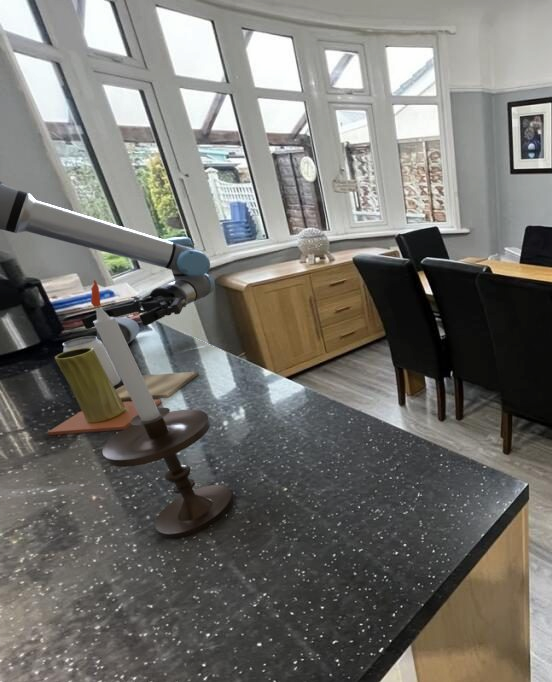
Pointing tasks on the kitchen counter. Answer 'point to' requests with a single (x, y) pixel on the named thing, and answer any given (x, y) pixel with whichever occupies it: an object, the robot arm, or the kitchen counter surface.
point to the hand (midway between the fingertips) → (113, 322)
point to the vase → (90, 385)
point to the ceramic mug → (126, 329)
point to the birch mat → (161, 384)
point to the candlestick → (159, 440)
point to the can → (99, 351)
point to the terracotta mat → (82, 426)
